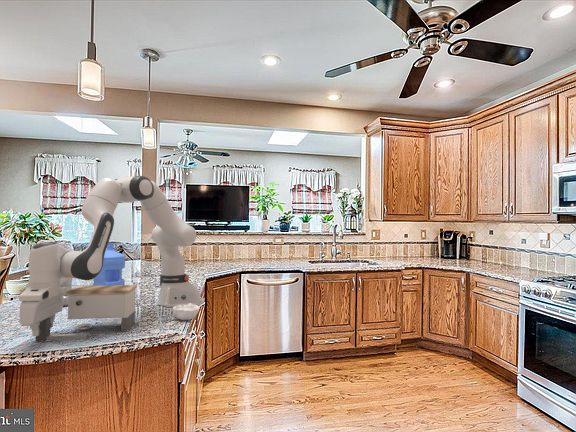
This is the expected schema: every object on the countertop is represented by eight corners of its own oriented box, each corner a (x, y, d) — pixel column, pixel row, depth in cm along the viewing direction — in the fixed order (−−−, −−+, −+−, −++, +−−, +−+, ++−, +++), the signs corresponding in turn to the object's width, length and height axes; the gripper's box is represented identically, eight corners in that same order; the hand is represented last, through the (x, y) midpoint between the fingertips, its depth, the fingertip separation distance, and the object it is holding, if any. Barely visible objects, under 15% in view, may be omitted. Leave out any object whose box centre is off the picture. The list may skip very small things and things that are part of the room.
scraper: (89, 336, 120) (90, 316, 120) (86, 339, 117) (86, 318, 117) (40, 338, 118) (40, 317, 118) (35, 341, 115) (36, 320, 115)
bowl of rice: (184, 314, 151) (185, 298, 151) (205, 318, 145) (205, 302, 145) (165, 319, 142) (166, 303, 142) (186, 324, 136) (187, 307, 136)
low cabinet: (136, 323, 137) (137, 284, 137) (127, 332, 125) (128, 291, 125) (78, 324, 133) (79, 285, 134) (63, 335, 121) (64, 292, 122)
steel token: (93, 327, 131) (93, 323, 132) (88, 331, 127) (88, 327, 127) (79, 327, 131) (79, 323, 131) (73, 332, 126) (73, 327, 126)
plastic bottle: (64, 307, 159) (65, 264, 160) (52, 306, 161) (53, 263, 161) (76, 304, 166) (77, 262, 166) (64, 303, 167) (65, 262, 167)
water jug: (86, 295, 185) (87, 243, 186) (106, 290, 201) (107, 241, 201) (112, 297, 183) (113, 244, 183) (130, 291, 198) (131, 242, 199)
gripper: (49, 285, 126) (48, 323, 126) (15, 297, 106) (14, 342, 106) (68, 284, 127) (67, 322, 127) (38, 296, 107) (36, 341, 107)
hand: (43, 331), depth 116 cm, fingers open, 7 cm apart
